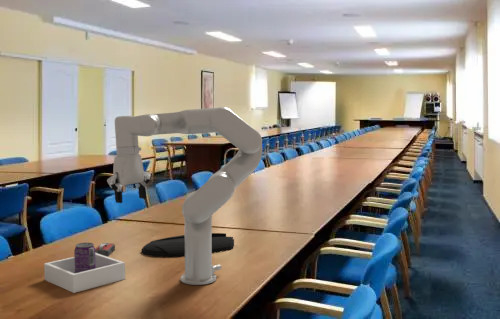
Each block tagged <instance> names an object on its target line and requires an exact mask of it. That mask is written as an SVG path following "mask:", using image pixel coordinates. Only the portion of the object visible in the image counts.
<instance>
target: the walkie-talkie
mask: <svg viewBox="0 0 500 319" xmlns="http://www.w3.org/2000/svg"><path fill="white" fill-rule="evenodd" d="M94 248H95V253H98V254H101V255H104V256H107V257H110V256H111V255H112V253H114V251H115V250H116V245H115V244H114V243H111V242H102V243H101V244H99V245H98V246H97V247H94Z"/></svg>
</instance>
